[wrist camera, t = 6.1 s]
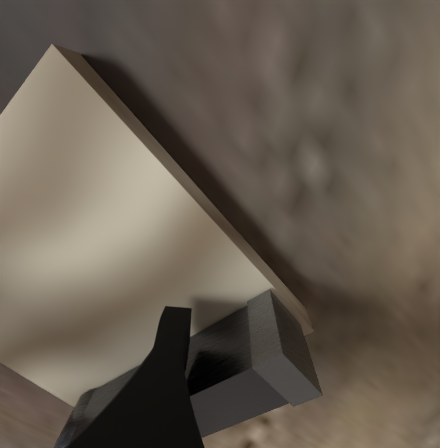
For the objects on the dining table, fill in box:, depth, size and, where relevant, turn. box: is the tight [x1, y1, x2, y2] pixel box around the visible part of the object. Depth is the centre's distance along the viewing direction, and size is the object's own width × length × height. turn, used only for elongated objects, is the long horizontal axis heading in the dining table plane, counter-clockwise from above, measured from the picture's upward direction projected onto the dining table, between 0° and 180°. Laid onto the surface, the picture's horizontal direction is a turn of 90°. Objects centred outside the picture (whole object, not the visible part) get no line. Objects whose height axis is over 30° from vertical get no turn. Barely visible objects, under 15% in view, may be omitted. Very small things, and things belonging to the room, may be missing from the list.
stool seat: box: [0, 44, 314, 407], centre depth 12 cm, size 15×15×3 cm
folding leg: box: [53, 289, 323, 448], centre depth 12 cm, size 14×3×3 cm, turn 128°
